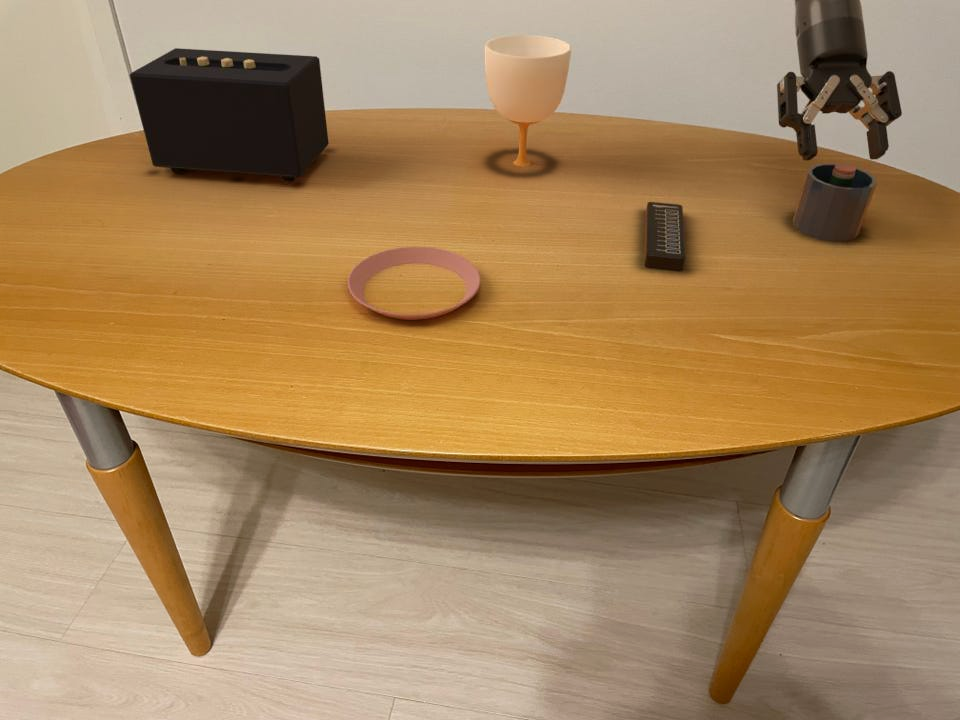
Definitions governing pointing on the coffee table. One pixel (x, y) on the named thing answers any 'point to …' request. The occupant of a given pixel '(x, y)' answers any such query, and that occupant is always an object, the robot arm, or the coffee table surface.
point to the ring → (413, 256)
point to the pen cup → (833, 204)
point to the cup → (526, 80)
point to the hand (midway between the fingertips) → (844, 157)
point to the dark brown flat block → (664, 237)
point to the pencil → (842, 175)
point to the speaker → (232, 111)
